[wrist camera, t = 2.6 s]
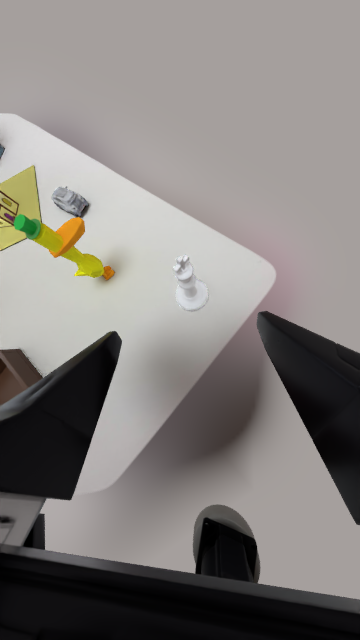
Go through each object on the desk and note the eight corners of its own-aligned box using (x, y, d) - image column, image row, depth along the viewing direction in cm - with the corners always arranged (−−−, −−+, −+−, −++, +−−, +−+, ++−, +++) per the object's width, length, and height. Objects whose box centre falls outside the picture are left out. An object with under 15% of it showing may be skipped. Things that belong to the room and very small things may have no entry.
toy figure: (116, 252, 26) (39, 178, 14) (128, 264, 25) (58, 196, 13) (90, 280, 26) (-7, 230, 14) (102, 293, 25) (9, 251, 13)
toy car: (65, 191, 30) (50, 175, 27) (92, 204, 28) (78, 189, 25) (55, 206, 30) (39, 192, 27) (81, 220, 28) (67, 206, 25)
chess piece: (169, 297, 23) (140, 265, 13) (190, 273, 22) (177, 222, 13) (193, 317, 21) (181, 298, 12) (215, 292, 21) (222, 252, 12)
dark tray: (63, 402, 23) (45, 410, 21) (19, 460, 23) (-4, 474, 21) (19, 348, 27) (-1, 349, 24) (-20, 399, 27) (-44, 405, 24)
